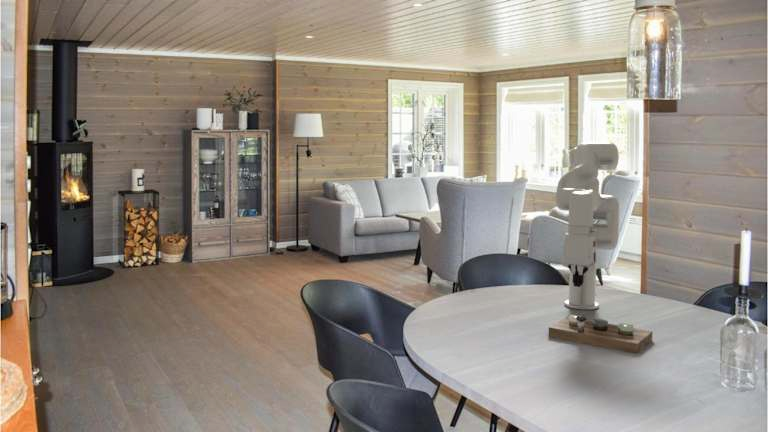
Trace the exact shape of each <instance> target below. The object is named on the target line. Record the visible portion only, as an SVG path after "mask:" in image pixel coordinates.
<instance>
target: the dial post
mask: <svg viewBox="0 0 768 432" xmlns="http://www.w3.org/2000/svg"><path fill="white" fill-rule="evenodd" d="M575 315H576V320H578V328H577V332H580V333H583V332H584V321H586V320H588V319H587V317H588V316H586V315H583V314H575Z"/></svg>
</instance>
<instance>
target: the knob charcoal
mask: <svg viewBox="0 0 768 432" xmlns="http://www.w3.org/2000/svg"><path fill="white" fill-rule="evenodd" d="M592 321H593V329H595V330H598V331H605V330H607V329H608V324H609V322H608V320H606V319H601V318H597V319H594V320H592Z"/></svg>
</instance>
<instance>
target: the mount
mask: <svg viewBox="0 0 768 432" xmlns="http://www.w3.org/2000/svg"><path fill="white" fill-rule="evenodd" d="M618 326H619V324H612V323H608V329H607V330H605V331H598V330H595V329H593V320H590V319H586V321H584V332H583V333H580V332H577V328H578V327H576V326H572V325H570V324H569V316H566V317H565V318H563V319H561V320H559V321H557V322H555V323H554V324H552V325H550V326H549V327H548V337H551V338H556V339H561V340H566V341H571V342H575V343H582V344H586V345H592V346H596V347H602V348H606V349H612V350H618V351H623V352H627V353H628V352H629V353H634V354H638V353H639V352H640V351H642V349H644V348H645V347H647V346H648V345H649V344H650V343H651V342H652V341H653V333H654V332H653V331H652V330H647V329H641V328H635V327H633V335H630V336H626V335H621V334H619V333H618Z"/></svg>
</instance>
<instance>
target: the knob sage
mask: <svg viewBox="0 0 768 432" xmlns="http://www.w3.org/2000/svg"><path fill="white" fill-rule="evenodd" d="M618 325H619V326H618V333H619V334H621V335H626V336H630V335H633V328H634V325H633V324H630V323H623V322H622V323H619V324H618Z"/></svg>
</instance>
